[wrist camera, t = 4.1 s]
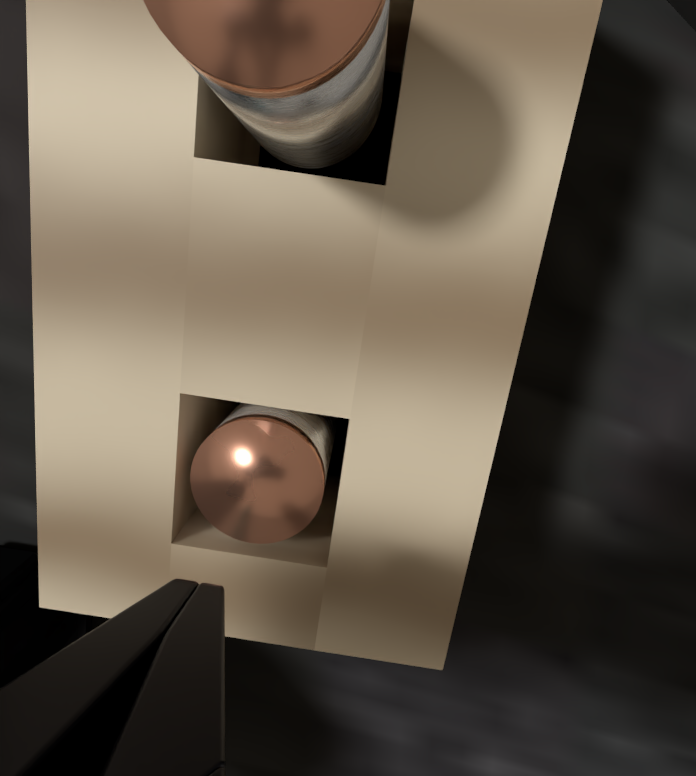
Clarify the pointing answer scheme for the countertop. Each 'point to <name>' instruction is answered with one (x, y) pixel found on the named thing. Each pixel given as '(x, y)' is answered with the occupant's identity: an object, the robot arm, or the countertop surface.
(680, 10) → the smart home device
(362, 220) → the birch block
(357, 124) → the steel peg
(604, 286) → the countertop surface
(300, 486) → the steel peg
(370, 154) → the countertop surface
